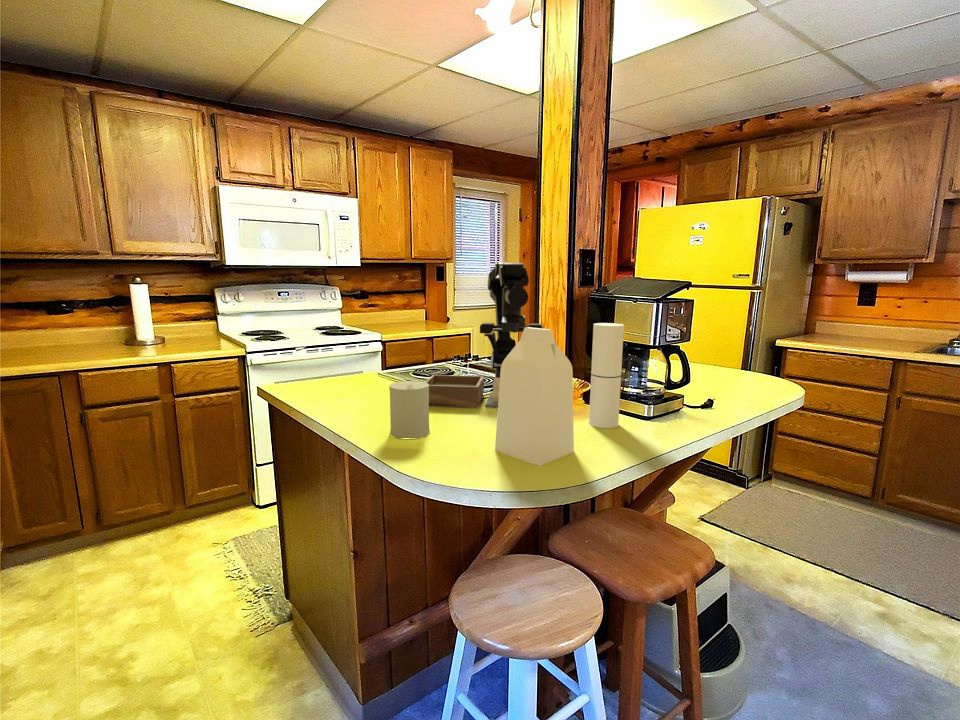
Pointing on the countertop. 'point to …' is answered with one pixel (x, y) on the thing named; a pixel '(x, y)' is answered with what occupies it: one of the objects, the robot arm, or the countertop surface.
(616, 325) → the cylindrical container
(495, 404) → the pad
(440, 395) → the crate
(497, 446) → the milk
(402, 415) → the can
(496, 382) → the block
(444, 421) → the countertop surface
